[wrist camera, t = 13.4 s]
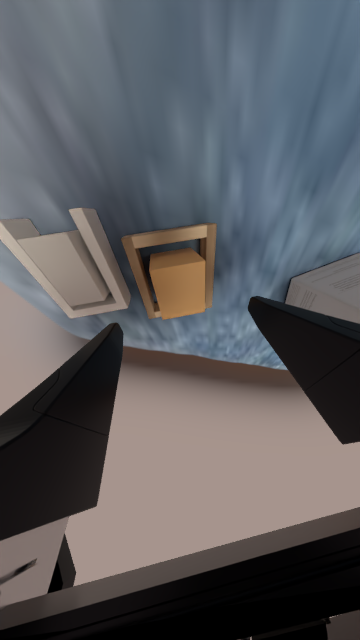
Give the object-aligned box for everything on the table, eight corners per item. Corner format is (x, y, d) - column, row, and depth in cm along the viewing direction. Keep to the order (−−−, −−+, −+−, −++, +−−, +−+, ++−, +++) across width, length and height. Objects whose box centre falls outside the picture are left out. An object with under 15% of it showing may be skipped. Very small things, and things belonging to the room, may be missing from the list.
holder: (208, 222, 12) (216, 223, 10) (206, 299, 17) (211, 307, 15) (125, 235, 11) (120, 238, 10) (149, 309, 16) (149, 318, 15)
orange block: (190, 247, 13) (205, 260, 9) (192, 288, 16) (204, 311, 12) (150, 253, 13) (149, 270, 9) (160, 294, 15) (162, 319, 12)
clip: (95, 209, 10) (81, 207, 8) (131, 296, 15) (127, 308, 13) (18, 220, 10) (-16, 221, 8) (81, 305, 15) (70, 318, 13)
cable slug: (87, 228, 11) (65, 232, 8) (114, 284, 14) (104, 300, 11) (51, 233, 11) (16, 239, 8) (86, 288, 14) (70, 306, 11)
